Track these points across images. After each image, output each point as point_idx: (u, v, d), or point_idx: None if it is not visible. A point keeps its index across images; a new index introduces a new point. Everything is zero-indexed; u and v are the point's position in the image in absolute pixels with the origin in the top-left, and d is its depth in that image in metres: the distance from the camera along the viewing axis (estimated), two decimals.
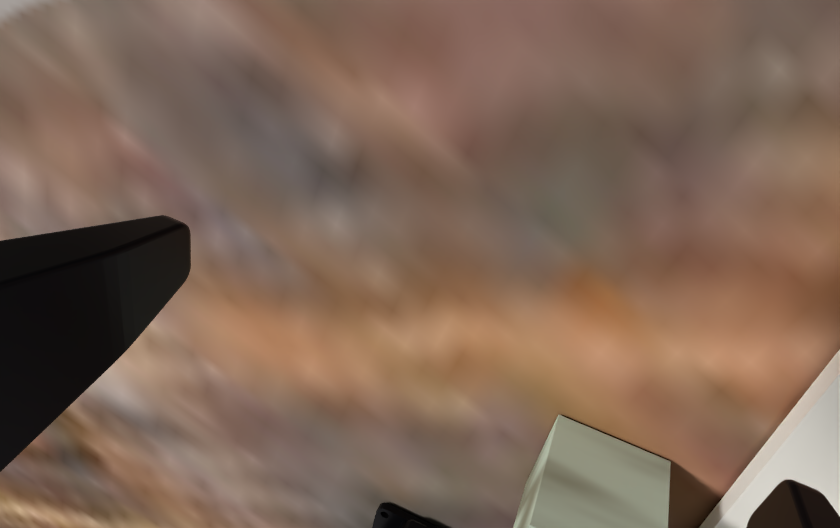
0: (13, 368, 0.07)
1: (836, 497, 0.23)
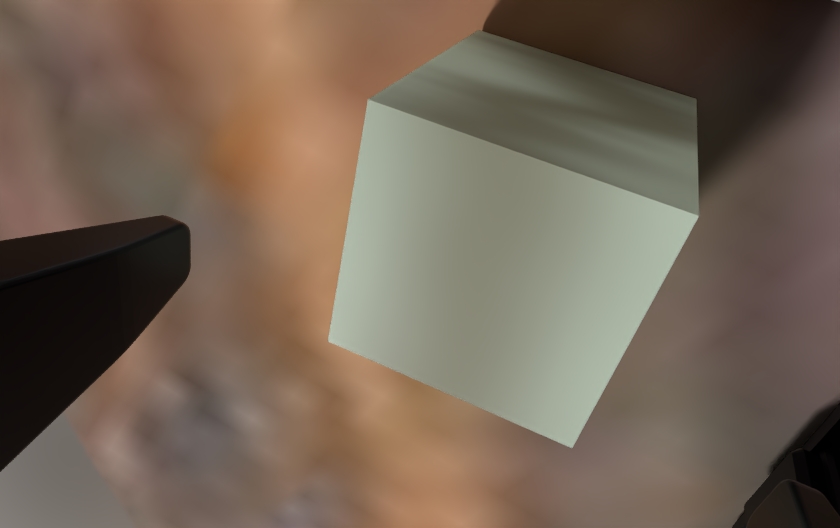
0: (13, 368, 0.07)
1: None
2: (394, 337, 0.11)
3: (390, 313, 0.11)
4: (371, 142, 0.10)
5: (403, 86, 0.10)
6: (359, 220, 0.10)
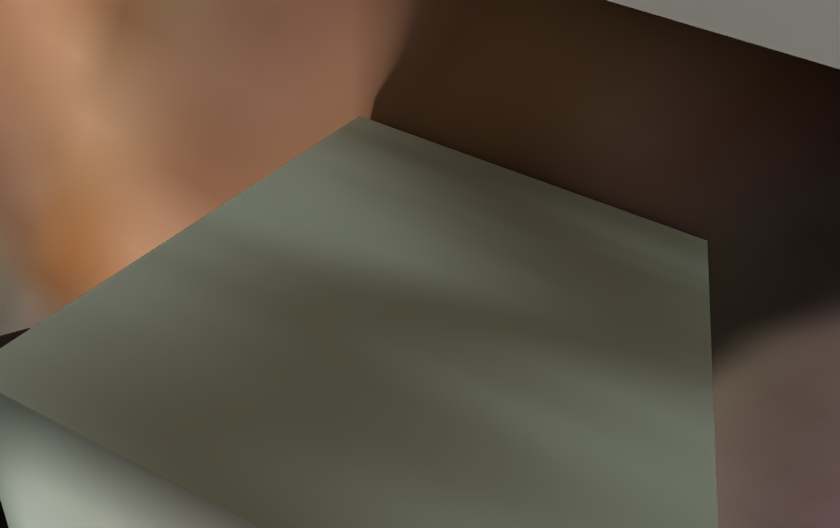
0: None
1: None
2: None
3: None
4: (0, 445, 0.04)
5: (100, 303, 0.05)
6: None
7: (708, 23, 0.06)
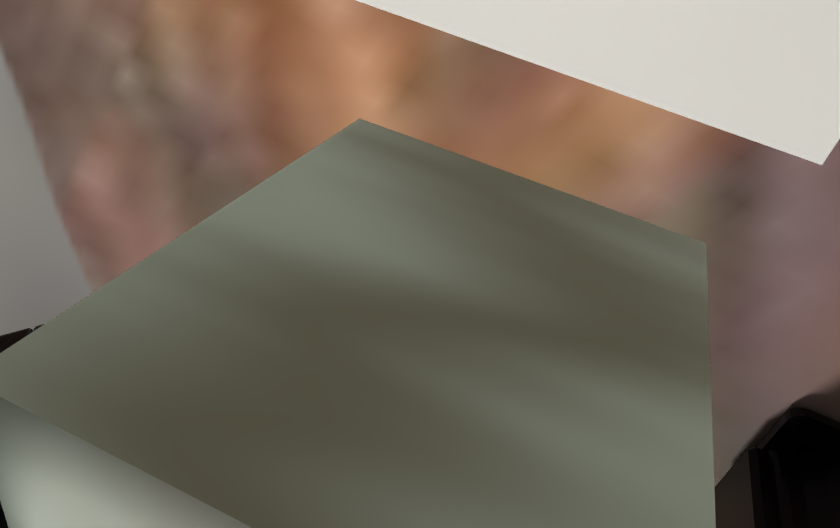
0: None
1: None
2: None
3: None
4: (1, 450, 0.04)
5: (101, 307, 0.05)
6: None
7: (683, 113, 0.17)
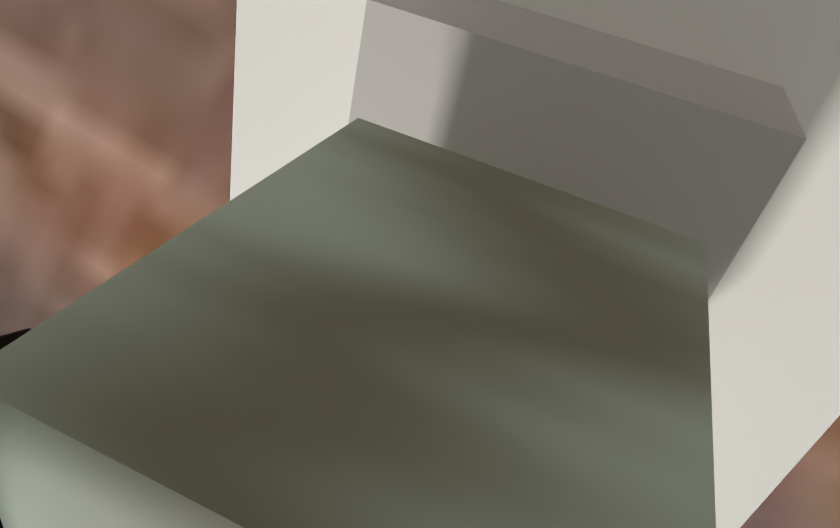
0: None
1: None
2: None
3: None
4: None
5: (97, 307, 0.05)
6: None
7: None
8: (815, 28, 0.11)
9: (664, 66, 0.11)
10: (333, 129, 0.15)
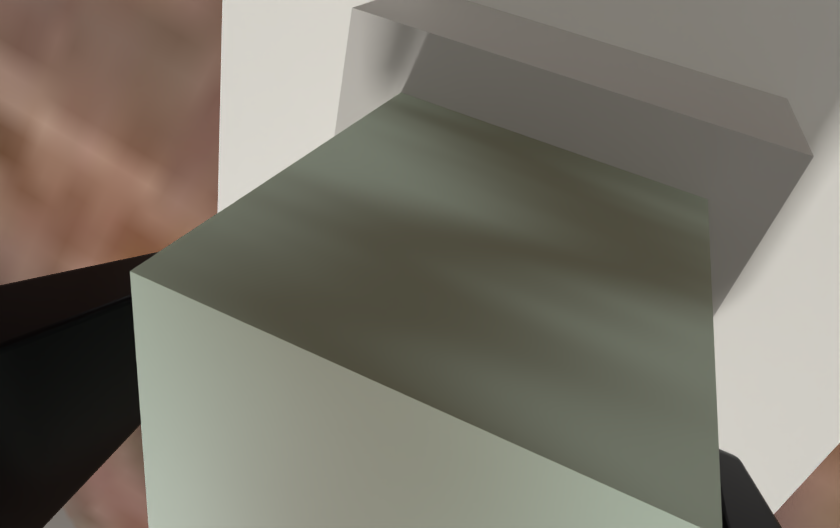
0: (81, 402, 0.07)
1: None
2: None
3: None
4: (150, 336, 0.06)
5: (220, 228, 0.06)
6: (158, 439, 0.06)
7: None
8: (821, 37, 0.10)
9: (663, 77, 0.10)
10: (322, 139, 0.15)
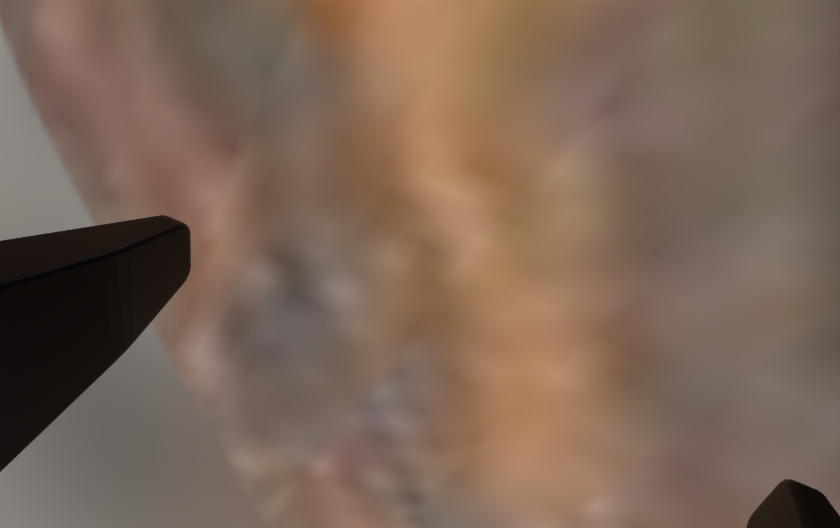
0: (13, 368, 0.07)
1: None
2: None
3: None
4: None
5: None
6: None
7: None
8: None
9: None
10: None
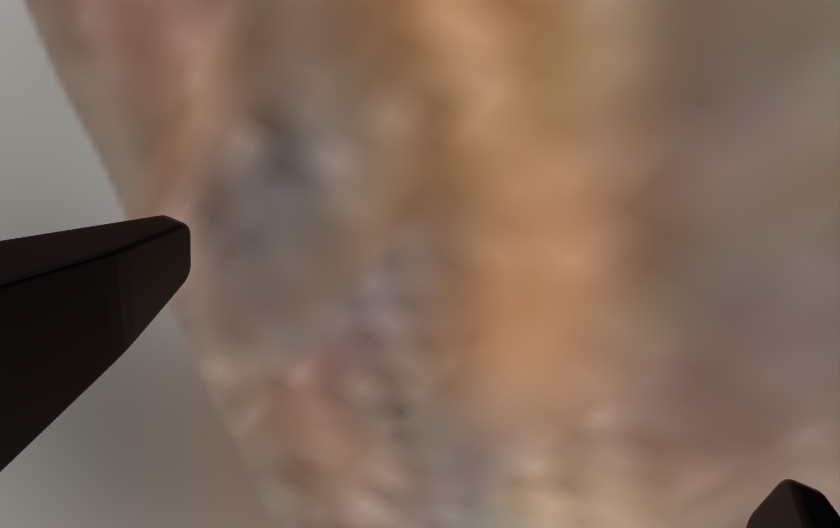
0: (13, 368, 0.07)
1: None
2: None
3: None
4: None
5: None
6: None
7: None
8: None
9: None
10: None
